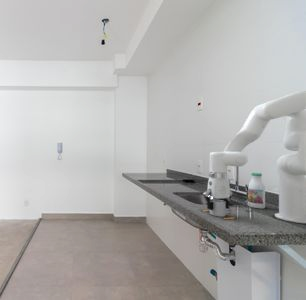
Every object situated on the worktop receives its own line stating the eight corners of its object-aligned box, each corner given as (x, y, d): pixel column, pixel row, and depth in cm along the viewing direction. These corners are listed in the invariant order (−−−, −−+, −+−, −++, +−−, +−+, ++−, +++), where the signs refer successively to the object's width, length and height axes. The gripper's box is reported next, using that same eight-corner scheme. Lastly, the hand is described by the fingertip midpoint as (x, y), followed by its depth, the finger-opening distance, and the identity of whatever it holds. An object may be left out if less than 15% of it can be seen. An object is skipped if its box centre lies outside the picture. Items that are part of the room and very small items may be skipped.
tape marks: (211, 210, 114) (211, 209, 114) (235, 218, 101) (235, 218, 101) (201, 210, 113) (201, 210, 113) (225, 219, 99) (225, 218, 99)
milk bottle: (252, 204, 127) (252, 172, 127) (267, 208, 120) (268, 173, 120) (245, 206, 123) (245, 172, 123) (260, 209, 116) (261, 174, 116)
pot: (217, 212, 111) (217, 199, 111) (228, 216, 104) (228, 202, 104) (206, 212, 109) (206, 199, 109) (217, 216, 103) (217, 202, 103)
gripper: (210, 177, 101) (210, 212, 101) (238, 176, 105) (238, 209, 105) (198, 175, 109) (198, 207, 108) (225, 174, 112) (225, 205, 112)
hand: (218, 208), depth 107 cm, fingers open, 9 cm apart
